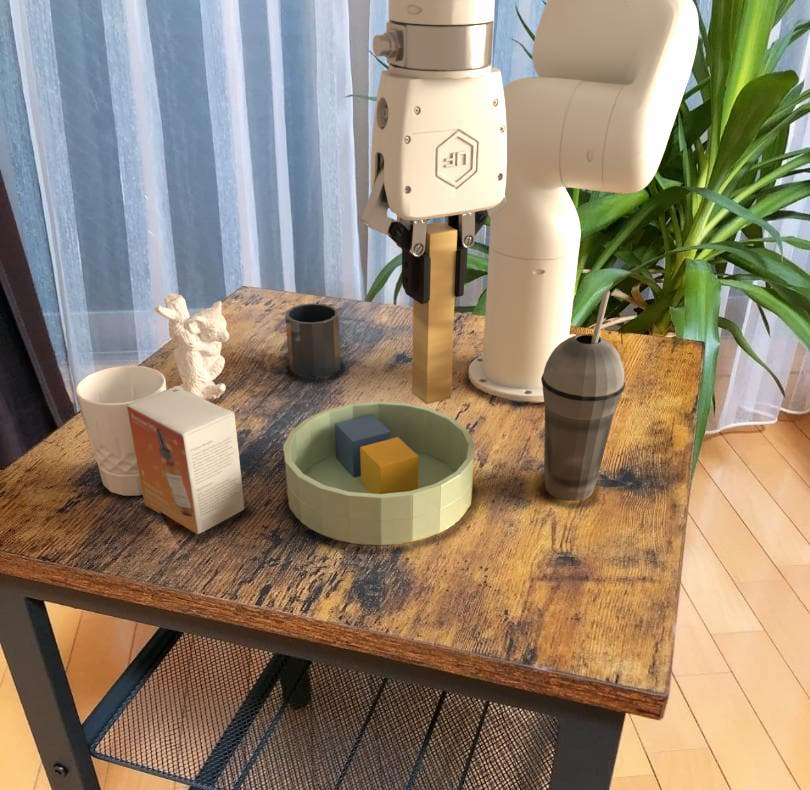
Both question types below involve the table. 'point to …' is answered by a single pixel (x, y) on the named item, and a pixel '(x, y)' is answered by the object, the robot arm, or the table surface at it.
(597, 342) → the beverage cup
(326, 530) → the bowl
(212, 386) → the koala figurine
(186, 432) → the small box
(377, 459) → the mustard block
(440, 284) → the tan wooden bar
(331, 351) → the utensil pot
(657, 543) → the table surface
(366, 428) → the blue block
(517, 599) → the table surface
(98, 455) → the white cup
